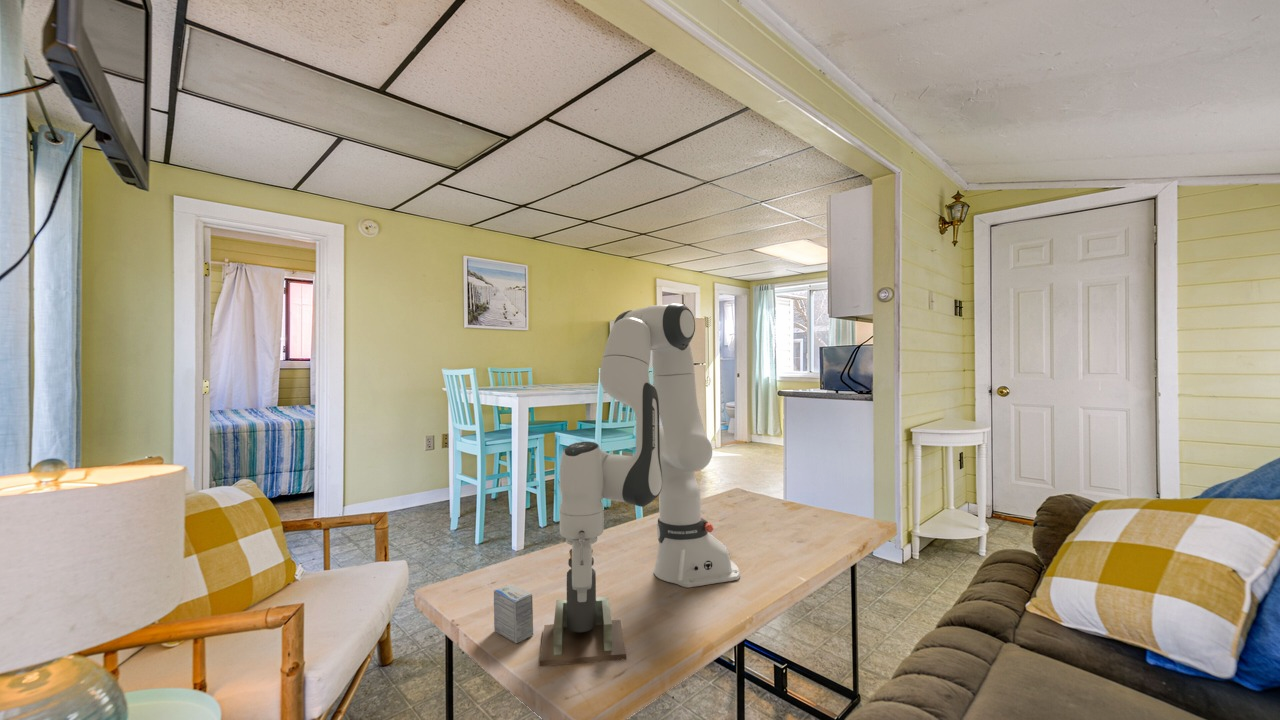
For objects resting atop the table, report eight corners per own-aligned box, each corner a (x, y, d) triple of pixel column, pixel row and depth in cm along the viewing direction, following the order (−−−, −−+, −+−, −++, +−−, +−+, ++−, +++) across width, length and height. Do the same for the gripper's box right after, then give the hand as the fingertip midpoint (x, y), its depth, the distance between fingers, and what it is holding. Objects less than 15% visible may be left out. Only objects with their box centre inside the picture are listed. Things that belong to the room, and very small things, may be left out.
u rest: (620, 624, 108) (620, 595, 108) (626, 659, 95) (625, 627, 95) (544, 629, 106) (544, 601, 106) (539, 666, 93) (539, 633, 93)
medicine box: (533, 636, 103) (533, 593, 103) (515, 645, 100) (515, 601, 100) (511, 623, 109) (511, 582, 109) (493, 631, 105) (493, 589, 105)
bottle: (590, 634, 98) (590, 556, 98) (562, 630, 99) (562, 554, 100) (599, 619, 104) (599, 546, 104) (572, 616, 105) (572, 544, 105)
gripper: (599, 540, 92) (599, 617, 92) (595, 509, 112) (596, 571, 112) (564, 542, 91) (564, 619, 91) (567, 510, 112) (567, 573, 111)
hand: (582, 592), depth 102 cm, fingers closed on bottle, 5 cm apart
